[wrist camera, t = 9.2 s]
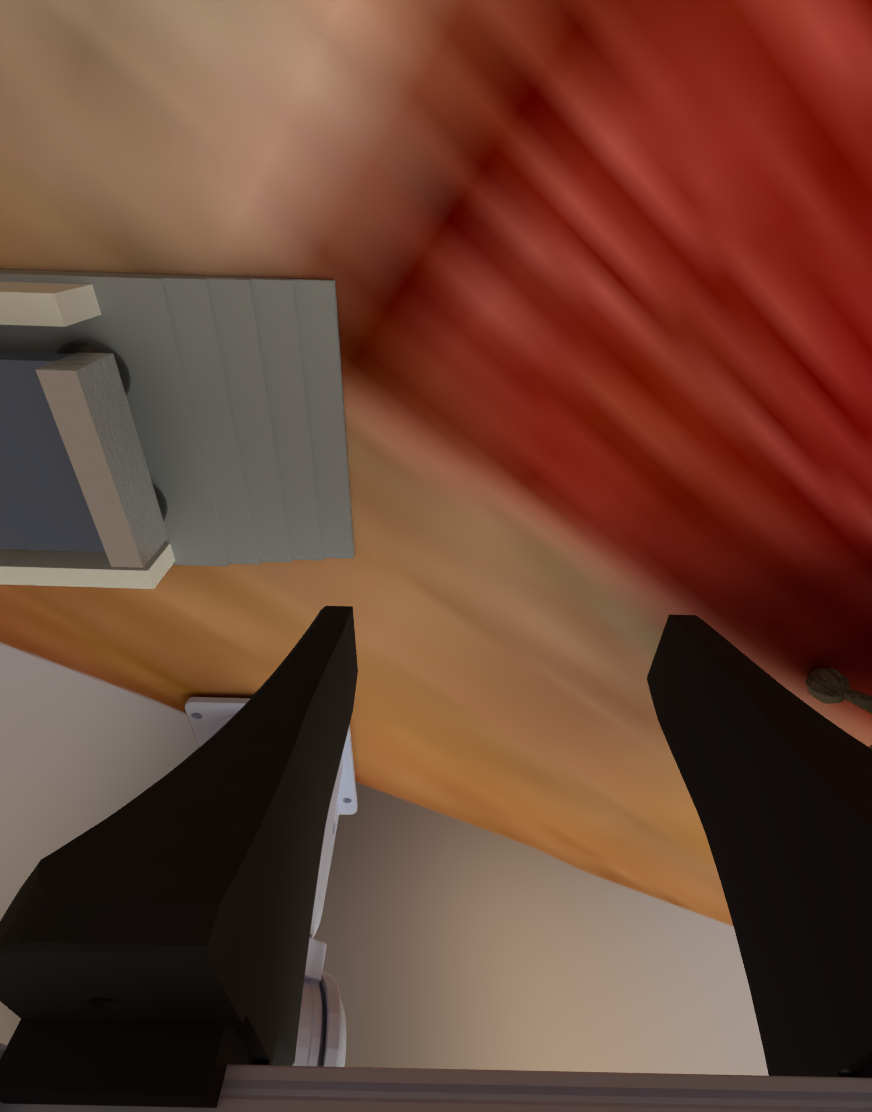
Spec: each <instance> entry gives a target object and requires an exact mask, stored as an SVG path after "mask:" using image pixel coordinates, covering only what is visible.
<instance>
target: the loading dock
mask: <svg viewBox="0 0 872 1112" xmlns="http://www.w3.org/2000/svg"><path fill="white" fill-rule="evenodd" d="M77 339H89V340H94V341H98V342H101V343H103V344H105V345H107V346H109V347H110V348H112V349H113V350H114V351H116V352H117V353H118V354H119V355H120V356H121V358H122V359H123V360H124V362H125V363H126V365H127V367H128V370H129V373H130V379H131V384H130V389H129V392H128V394H127V396H126V398H127V401H128V405H129V408H130V411H131V415H132V418H133V421H134V425H135V428H136V431H137V435H138V438H139V441H140V445H141V448H142V451H143V455H144V458H145V461H146V465H147V468H148V471H149V475H150V478H151V481H152V483H153V484H155V485H156V486H157V487H158V488H159V489H160V490H161V491H162V493H163V494H164V496H165V498H166V501H167V507H168V510H167V515H166V518H165V520H164V525H165V528H166V531H167V535H168V538H167V539H166V541H165V542H164V543H163V544H162V546H161V547H160V548H159V549H158V550H157V552H156V553H155V554H154V555H153V557H152V558H151V559H150V560H149V561H148V563H147V564H146V565H145V566H144V567H143V568H137V567H111V565H110V562H109V560H108V557H107V554H106V552H89V551H56V550H23V549H0V584H7V585H40V586H74V587H107V588H141V589H154V588H155V587H156V586H157V584H158V583H159V582H160V580H161V579H162V578H163V576H164V575H165V574H166V572H167V571H168V570H169V568H170V567H171V566H172V565H197V566H228V565H229V564H261V562H292V561H293V560H322V561H323V559H324V558H349V559H354V542H353V528H352V514H351V500H350V485H349V471H348V457H347V443H346V428H345V414H344V400H343V386H342V371H341V357H340V343H339V329H338V314H337V300H336V286H335V280H316V279H286V278H256V277H226V276H195V275H165V274H135V273H104V272H74V271H44V270H13V269H0V352H23V353H53V354H54V353H55V351H56V350H57V349H58V348H59V347H60V346H61V345H63V344H65V343H67V342H69V341H72V340H77Z"/></svg>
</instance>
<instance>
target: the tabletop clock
mask: <svg viewBox="0 0 872 1112" xmlns="http://www.w3.org/2000/svg"><path fill="white" fill-rule="evenodd" d="M806 685H807V689H808V692H809V693H810V694H811V695H812V696H813V697H815V698H816V699H818V700H819V701H820V702H823V703H826V704H831V703H840V702H841V701H843V700H844V699H846V700H847V701H849V702H851V703H853V704H855V705H857V706H858V707H860V708H862V709H864V710H866V711H868V712H870V713H871V714H872V696H870V695H867V694H864V693H861V692H858V691H855V690H853V689H850V685H849V681H848V679H847V678H846V677H845V676H844V675H843V674H841V673H840V672H838V671H837V670H835V669H833V668H818V669H815V670H814V671H813V672H811V673H810V674H809V675H808V678H807V680H806ZM869 748H871V749H872V745H871V746H870V747H869Z"/></svg>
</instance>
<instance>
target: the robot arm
mask: <svg viewBox="0 0 872 1112" xmlns="http://www.w3.org/2000/svg"><path fill="white" fill-rule="evenodd" d="M357 673H358V668H357V656H356V644H355V631H354V619H353V607H348V606H325V607H324V608H323V609H322V610H321V611H320V612H319V614H318V615H317V617H316V618H315V620H314V621H313V623H312V624H311V625H310V627H309V628H308V630H307V631H306V632H305V634H304V635H303V636H302V638H301V639H300V640H299V642H298V643H297V644H296V646H295V647H294V648H293V650H292V651H291V652H290V653H289V655H288V656H287V657H286V658H285V659H284V661H283V662H282V663H281V664H280V666H279V667H278V668H277V669H276V671H275V672H274V673H273V674H272V675H271V676H270V678H269V679H268V680H267V681H266V682H265V683H264V684H263V685H262V686H261V687H260V689H259V690H258V691H257V692H256V693H255V694H254V695H253V696H252V697H251V698H217V697H191V698H189V699H188V700H187V702H186V704H185V711H186V713H187V716H188V719H189V722H190V725H191V727H192V730H193V733H194V736H195V739H196V742H197V744H198V747H199V748H198V749H197V750H196V751H195V752H194V753H192V754H191V755H190V756H189V757H188V758H187V759H185V760H184V761H183V762H182V763H181V764H179V765H178V766H177V767H176V768H174V769H173V770H172V771H171V772H169V773H168V774H167V775H166V776H164V777H163V778H162V779H160V780H159V781H158V782H156V783H155V784H154V785H152V786H151V787H150V788H148V789H147V790H146V791H144V792H143V793H141V794H140V795H139V796H137V797H136V798H135V799H133V800H132V801H131V802H129V803H128V804H127V805H125V806H124V807H122V808H121V809H120V810H118V811H117V812H116V813H114V814H112V815H111V816H109V817H108V818H107V819H105V820H104V821H102V822H101V823H99V824H97V825H96V826H94V827H93V828H91V829H89V830H88V831H86V832H85V833H83V834H82V835H80V836H78V837H77V838H75V839H74V840H72V841H71V842H69V843H67V844H66V845H64V846H63V847H61V848H60V849H58V850H57V851H55V852H53V853H52V854H50V855H48V856H47V857H45V858H43V859H42V860H41V861H40V862H39V863H38V865H37V866H36V868H35V869H34V871H33V872H32V873H31V875H30V876H29V877H28V879H27V880H26V881H25V883H24V884H23V886H22V887H21V889H20V890H19V892H18V893H17V895H16V896H15V898H14V900H13V901H12V903H11V904H10V906H9V908H8V910H7V911H6V913H5V914H4V916H3V918H2V919H1V921H0V1001H1V1002H2V1003H3V1004H4V1005H6V1006H7V1007H8V1008H9V1009H10V1010H12V1011H13V1012H14V1013H15V1014H16V1015H18V1016H19V1017H20V1018H21V1020H20V1022H19V1024H18V1026H17V1028H16V1030H15V1032H14V1034H13V1036H12V1038H11V1040H10V1042H9V1044H8V1045H7V1046H6V1045H4V1044H1V1043H0V1112H872V749H871V748H869V747H868V746H866V745H864V744H863V743H861V742H860V741H858V740H857V739H855V738H854V737H852V736H851V735H849V734H848V733H846V732H845V731H843V730H842V729H840V728H839V727H837V726H836V725H835V724H833V723H832V722H830V721H829V720H827V719H826V718H825V717H823V716H822V715H821V714H819V713H818V712H817V711H815V710H814V709H813V708H811V707H810V706H808V705H807V704H806V703H804V702H803V701H802V700H800V699H799V698H798V697H796V696H795V695H794V694H793V693H791V692H790V691H789V690H787V689H786V688H785V687H783V686H782V685H781V684H780V683H778V682H777V681H776V680H775V679H773V678H772V677H771V676H770V675H768V674H767V673H766V672H765V671H764V670H762V669H761V668H760V667H759V666H757V665H756V664H755V663H754V662H753V661H751V660H750V659H749V658H748V657H746V656H745V655H744V654H743V653H742V652H740V651H739V650H738V649H737V648H736V647H735V646H733V645H732V644H731V643H730V642H729V641H727V640H726V639H725V638H724V637H723V636H721V635H720V634H719V633H718V632H716V631H715V630H714V629H713V628H712V627H710V626H709V625H708V624H707V623H705V622H704V621H703V620H701V619H700V618H699V617H697V616H696V615H669V617H668V619H667V622H666V625H665V628H664V631H663V634H662V637H661V639H660V642H659V645H658V648H657V651H656V654H655V657H654V659H653V662H652V665H651V668H650V671H649V674H648V677H647V681H648V685H649V689H650V692H651V696H652V700H653V704H654V707H655V711H656V714H657V717H658V720H659V723H660V725H661V728H662V730H663V733H664V735H665V737H666V740H667V742H668V745H669V747H670V749H671V752H672V754H673V756H674V759H675V761H676V763H677V766H678V768H679V770H680V773H681V775H682V777H683V780H684V782H685V784H686V787H687V789H688V791H689V793H690V796H691V798H692V800H693V803H694V805H695V807H696V810H697V812H698V815H699V817H700V820H701V823H702V825H703V828H704V830H705V833H706V836H707V839H708V842H709V845H710V849H711V852H712V855H713V858H714V861H715V864H716V868H717V871H718V874H719V877H720V880H721V884H722V887H723V891H724V894H725V898H726V901H727V905H728V908H729V911H730V915H731V918H732V922H733V925H734V929H735V933H736V937H737V940H738V944H739V948H740V952H741V956H742V960H743V964H744V968H745V971H746V975H747V979H748V983H749V987H750V991H751V996H752V1000H753V1005H754V1009H755V1013H756V1018H757V1022H758V1026H759V1031H760V1035H761V1040H762V1044H763V1049H764V1054H765V1059H766V1064H767V1069H768V1074H769V1076H752V1075H751V1076H750V1075H705V1074H655V1073H608V1072H562V1071H561V1072H560V1071H513V1070H467V1069H417V1068H372V1067H344V1063H345V1054H346V1022H345V1014H344V1009H343V1005H342V1002H341V998H340V992H339V989H338V987H337V984H336V981H335V980H334V978H333V977H332V976H331V975H329V974H328V973H327V972H323V964H324V958H325V952H326V943H324V942H321V941H318V940H315V939H313V937H314V935H315V934H316V931H317V928H318V926H319V923H320V920H321V916H322V911H323V905H324V898H325V893H326V888H327V882H328V876H329V870H330V864H331V858H332V852H333V847H334V840H335V835H336V829H337V823H338V817H339V814H343V815H345V814H346V815H350V814H354V813H355V812H356V811H357V805H358V804H357V795H356V784H355V773H354V763H353V753H352V742H351V732H350V720H351V716H352V712H353V705H354V697H355V689H356V681H357Z"/></svg>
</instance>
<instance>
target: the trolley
mask: <svg viewBox="0 0 872 1112" xmlns="http://www.w3.org/2000/svg"><path fill="white" fill-rule="evenodd" d="M130 384H131V379H130V373H129V370H128V367H127V365H126V363H125V362H124V360H123V359H122V358H121V356H120V355H119V354H118V353H117V352H116V351H114V350H113V349H112V348H110V347H109V346H107V345H105V344H103V343H101V342H98V341H94V340H89V339H77V340H72V341H69V342H67V343H65V344H63V345H61V346H60V347H59V348H58V349H57V350H56V351H55V353H54V354H53V353H23V352H0V549H23V550H56V551H89V552H106V554H107V557H108V560H109V562H110V565H111V567H137V568H143V567H144V566H145V565H146V564H147V563H148V561H149V560H150V559H151V558H152V557H153V555H154V554H155V553H156V552H157V550H158V549H159V548H160V547H161V546H162V544H163V543H164V542H165V541H166V539H167V538H168V535H167V531H166V528H165V525H164V520H165V518H166V515H167V510H168V507H167V501H166V498H165V496H164V494H163V493H162V491H161V490H160V489H159V488H158V487H157V486H156V485H155V484H153V483H152V481H151V478H150V475H149V471H148V468H147V465H146V461H145V458H144V455H143V451H142V448H141V445H140V441H139V438H138V435H137V431H136V428H135V425H134V421H133V418H132V415H131V411H130V408H129V405H128V401H127V398H126V396H127V394H128V392H129V389H130Z"/></svg>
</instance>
